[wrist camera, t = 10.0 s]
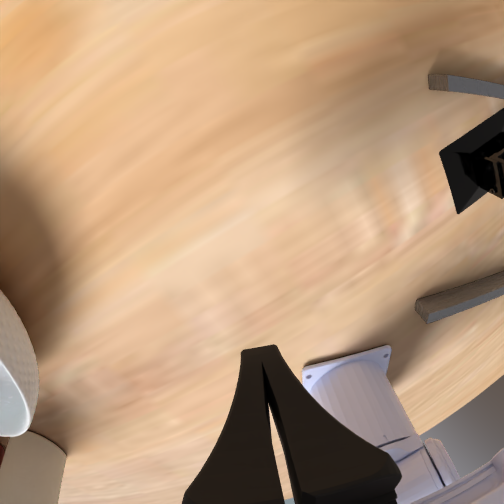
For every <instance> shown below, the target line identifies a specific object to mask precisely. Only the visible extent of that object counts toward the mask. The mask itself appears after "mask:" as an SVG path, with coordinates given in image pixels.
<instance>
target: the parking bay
mask: <svg viewBox="0 0 504 504" xmlns="http://www.w3.org/2000/svg"><path fill="white" fill-rule="evenodd" d="M428 79H429V89H430V90H442V91H452V92H460V93H468V94H476V95H483V96H489V97H495V98H501V99H504V85H501V84H496V83H492V82H487V81H482V80H476V79H471V78H465V77H459V76H452V75H428ZM502 295H504V271H503V272H500V273H497V274H494V275H492V276H489V277H486V278H483V279H480V280H477V281H474V282H471V283H468V284H465V285H462V286H459V287H456V288H453V289H450V290H447V291H444V292H441V293H437V294H434V295H431V296H427V297H424V298H421V299H417V301H416V306H415V310H416V311H417V313H418V314H419V315H420V316H421V318H422V319H423V320H424V321H425V322H426V324H428V323H431V322H434V321H437V320H440V319H442V318H445V317H448V316H451V315H453V314H456V313H459V312H462V311H464V310H467V309H469V308H472V307H475V306H477V305H480V304H482V303H485V302H487V301H490V300H492V299H494V298H497V297H499V296H502Z"/></svg>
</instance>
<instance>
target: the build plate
mask: <svg viewBox="0 0 504 504" xmlns="http://www.w3.org/2000/svg"><path fill="white" fill-rule="evenodd" d="M439 155H440V158H441V161H442V164H443V167H444V170H445V173H446V176H447V179H448V183H449V186H450V190H451V193H452V197H453V200H454V204H455V208H456V212H457V214H460V213H461V212H462V211H464V210H465V209H466V208H468V207H469V206H470V205H472V204H473V203H474V202H476V201H477V200H478V199H479V198H481V197H482V196H483V195H485V194H486V193H487V192H489V193H491V194H493V195H495V196H497V197H499V198H501V199H503V198H504V108H503V109H501V110H500V111H498V112H497V113H496V114H494V115H493V116H491V117H490V118H488V119H487V120H485V121H484V122H482V123H481V124H479V125H478V126H476V127H475V128H474V129H472V130H471V131H469V132H468V133H466V134H465V135H463V136H462V137H460V138H459V139H457V140H456V141H454V142H453V143H451V144H450V145H448V146H447V147H445V148H444V149H442V150H441V151H440V152H439Z"/></svg>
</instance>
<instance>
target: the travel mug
mask: <svg viewBox="0 0 504 504" xmlns="http://www.w3.org/2000/svg"><path fill="white" fill-rule="evenodd" d="M65 462H66V455H65V453H64V452H63V451H62V450H61V449H60V448H59V447H58V446H57V445H55V444H54V443H53V442H51V441H50V440H48V439H46V438H45V437H43V436H41V435H39V434H36V433H34V432H30V431H26V432H25V433H23V434H21V435H19V436H15V437H10V439H9V442H8V445H7V448H6V451H5V454H4V457H3V460H2V464H1V467H0V504H58V499H59V493H60V488H61V482H62V477H63V472H64V467H65Z"/></svg>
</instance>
